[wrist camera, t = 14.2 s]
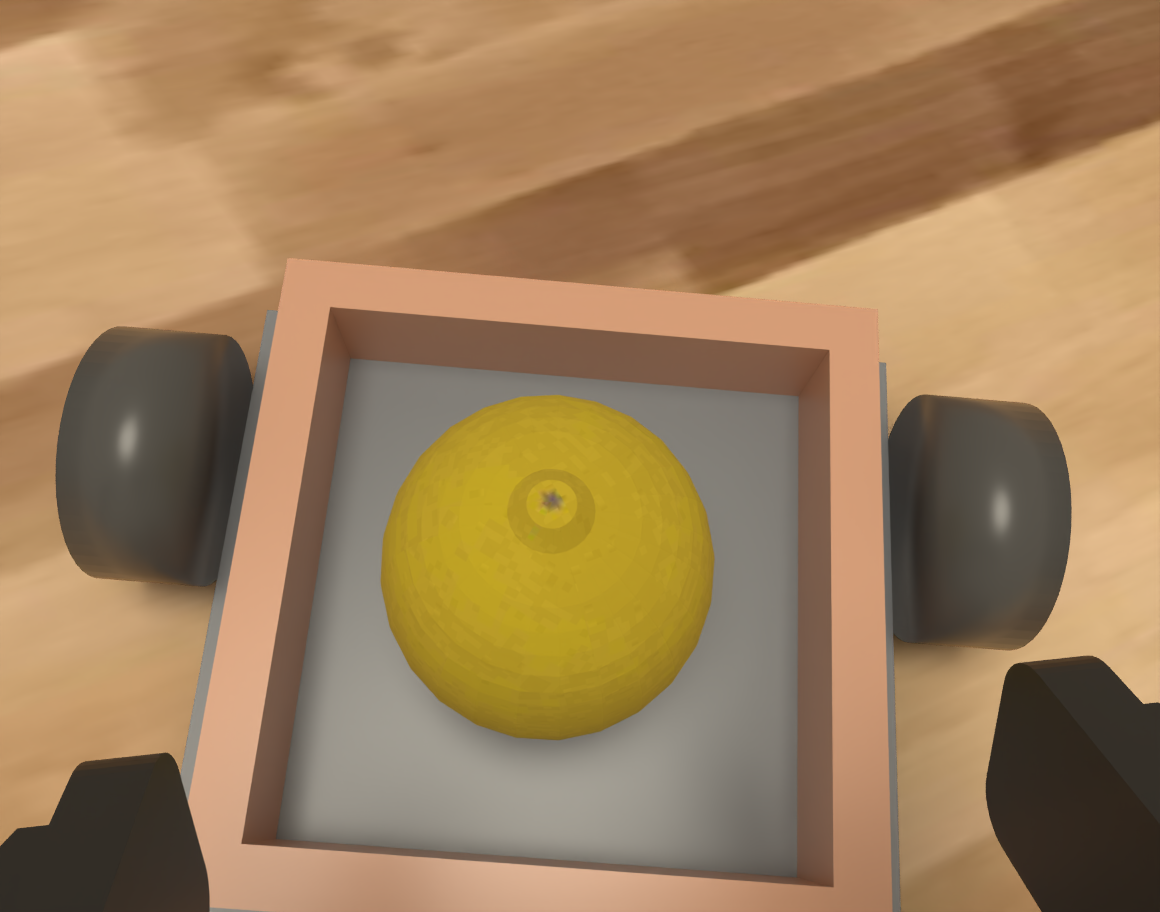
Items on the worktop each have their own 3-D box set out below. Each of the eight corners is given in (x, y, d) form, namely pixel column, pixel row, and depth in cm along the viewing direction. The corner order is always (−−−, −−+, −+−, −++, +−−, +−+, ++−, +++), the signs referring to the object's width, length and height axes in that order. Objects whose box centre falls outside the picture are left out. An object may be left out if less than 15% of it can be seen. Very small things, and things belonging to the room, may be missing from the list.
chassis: (-60, 1523, 17) (-295, 1813, 12) (194, 325, 24) (108, 203, 19) (1011, 1585, 18) (1199, 1890, 13) (952, 390, 25) (1058, 287, 20)
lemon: (729, 583, 22) (834, 458, 14) (576, 811, 20) (602, 809, 12) (517, 437, 22) (508, 245, 15) (353, 644, 21) (252, 547, 13)
